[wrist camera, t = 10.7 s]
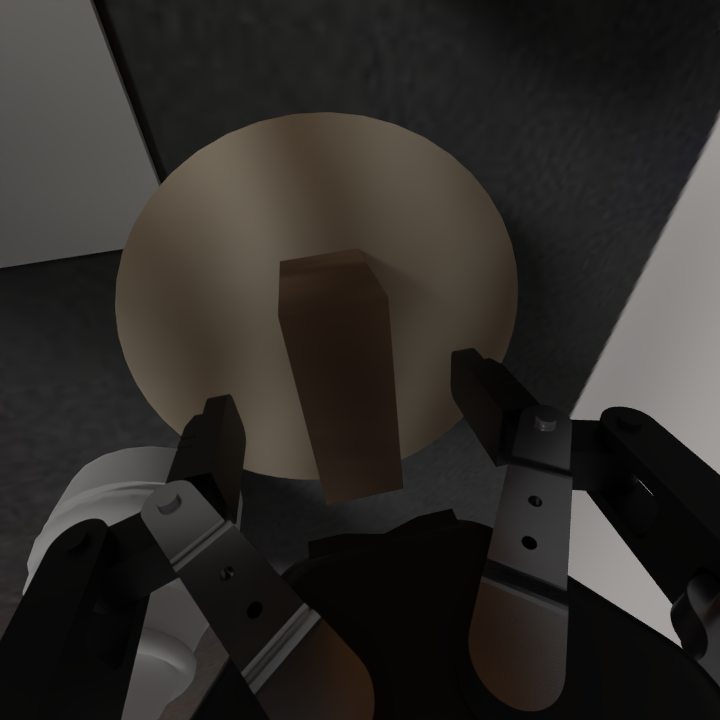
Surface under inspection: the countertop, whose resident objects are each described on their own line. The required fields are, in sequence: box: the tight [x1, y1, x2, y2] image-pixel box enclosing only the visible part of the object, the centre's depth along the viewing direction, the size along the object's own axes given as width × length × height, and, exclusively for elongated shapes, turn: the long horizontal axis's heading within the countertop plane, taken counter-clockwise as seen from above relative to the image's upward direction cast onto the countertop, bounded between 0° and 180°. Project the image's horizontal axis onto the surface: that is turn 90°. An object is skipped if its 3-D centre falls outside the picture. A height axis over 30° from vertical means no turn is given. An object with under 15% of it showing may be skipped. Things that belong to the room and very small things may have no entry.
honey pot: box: [23, 446, 243, 720], centre depth 22 cm, size 13×13×18 cm
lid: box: [115, 112, 518, 505], centre depth 15 cm, size 17×17×6 cm
